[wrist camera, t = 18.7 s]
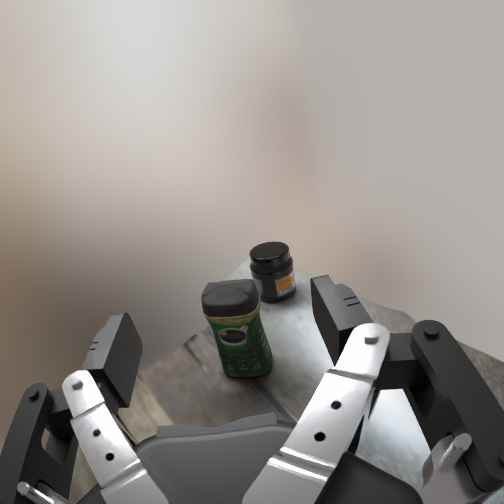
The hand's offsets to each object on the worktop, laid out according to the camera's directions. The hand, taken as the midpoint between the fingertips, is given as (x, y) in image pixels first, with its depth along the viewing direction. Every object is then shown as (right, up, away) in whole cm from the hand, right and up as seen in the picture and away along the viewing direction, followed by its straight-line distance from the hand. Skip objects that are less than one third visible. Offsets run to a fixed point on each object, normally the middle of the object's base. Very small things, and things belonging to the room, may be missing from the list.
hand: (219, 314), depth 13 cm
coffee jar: (+1, -19, +45) cm, 49 cm away
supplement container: (+7, -8, +66) cm, 67 cm away
